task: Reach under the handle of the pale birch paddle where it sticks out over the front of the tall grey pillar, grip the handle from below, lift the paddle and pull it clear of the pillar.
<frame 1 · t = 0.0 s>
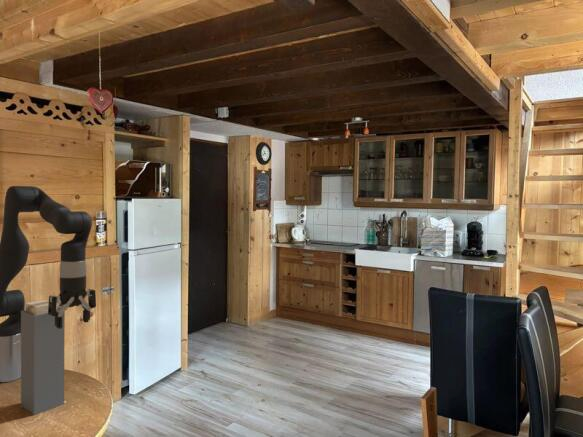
hand: (72, 324, 138), 29 cm above the table, fingers open, 8 cm apart
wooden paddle: (40, 310, 143), point 32 cm above the table, touching tall grey pillar
tall grey pillar: (42, 405, 145), on the table
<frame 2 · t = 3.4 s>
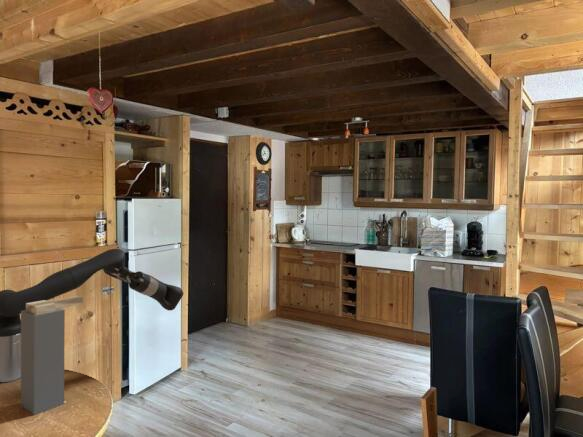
hand: (112, 268, 163), 43 cm above the table, fingers open, 8 cm apart
nothing on the table moved.
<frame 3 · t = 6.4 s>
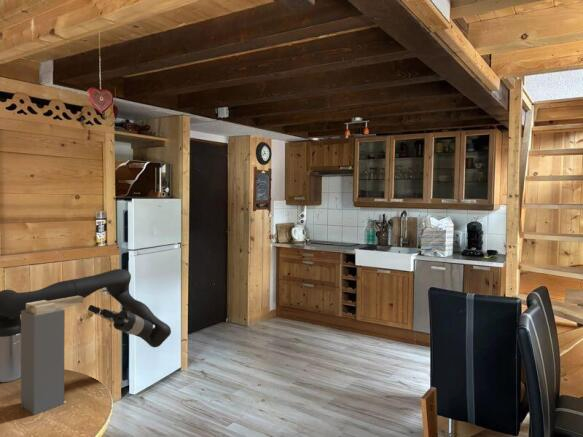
hand: (95, 309, 159), 29 cm above the table, fingers open, 8 cm apart
nothing on the table moved.
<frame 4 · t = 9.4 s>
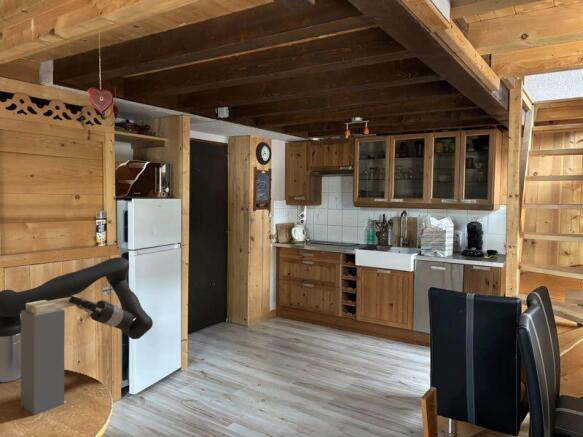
hand: (68, 298, 150), 35 cm above the table, fingers closed on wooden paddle, 3 cm apart
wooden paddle: (40, 310, 143), point 32 cm above the table, touching gripper, tall grey pillar
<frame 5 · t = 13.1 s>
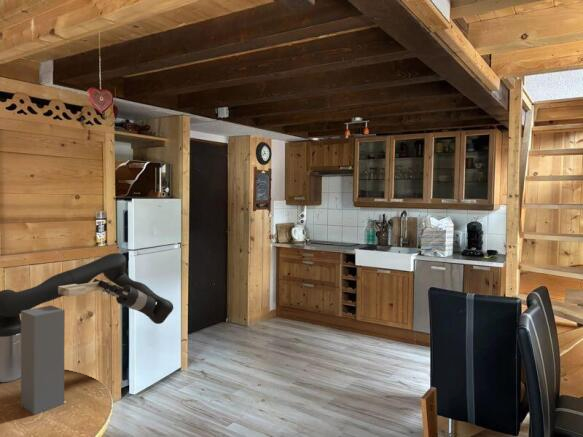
hand: (96, 282, 158), 39 cm above the table, fingers closed on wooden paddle, 3 cm apart
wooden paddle: (72, 293, 151), point 36 cm above the table, touching gripper
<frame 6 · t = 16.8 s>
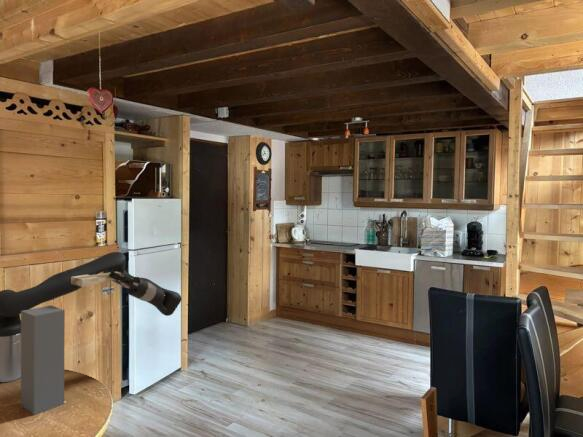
hand: (108, 273, 162), 41 cm above the table, fingers closed on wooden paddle, 3 cm apart
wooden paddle: (84, 283, 155), point 39 cm above the table, touching gripper
at the end: the gripper is holding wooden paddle; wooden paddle inside the target area (1.0 cm from its centre), point 38.7 cm above the table; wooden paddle touching gripper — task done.
